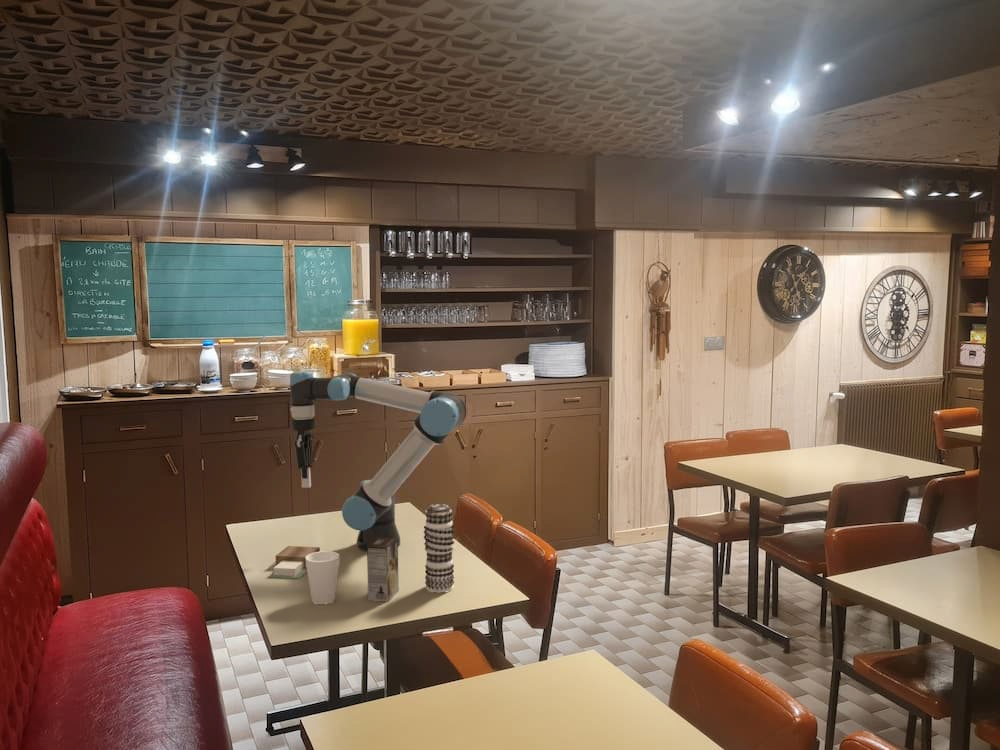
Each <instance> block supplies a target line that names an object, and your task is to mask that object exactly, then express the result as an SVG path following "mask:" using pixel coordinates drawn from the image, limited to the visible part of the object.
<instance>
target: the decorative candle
mask: <svg viewBox="0 0 1000 750" xmlns="http://www.w3.org/2000/svg"><path fill="white" fill-rule="evenodd" d="M424 512H425V513H426V515H425V517H426V520H425V525H424V526H423V529H424V531H423V533H424V536H423V539H424V541H425V542H424V544H423V545H424V551H425V553H426V559H425V562H426V564H425V565H424V566H425V571H424V572H425V577H424V579H425V582H424V583H425V585H426V586H425V590H426V589H427V590H428V591H427V590H426V591H427V592H429V591H431V592H430V593H433V592H437V593H436V594H441V593H440V592H445V593H447V592H446V591H449V592H450V590H451V589H453V590H454V588H455V586H454V583H455V581H454V579H455V576H454V572H455V570H454V566H455V565H454V563H453V562H454V561H453V552H454V547H453V545H454V544H455V541H454V539H455V536H454V535H453V533H454V532H455V531H456V530H455V528H454V527H455V526H456V524H454V523H453V513H452V512H453V510H452V508H450V506H449V505H447V504H445V503H434V504H431V505H428V507H427V509H426V510H424ZM453 587H454V588H453ZM451 591H452V590H451ZM438 592H439V593H438Z"/></svg>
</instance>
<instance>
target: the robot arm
mask: <svg viewBox="0 0 1000 750" xmlns="http://www.w3.org/2000/svg"><path fill="white" fill-rule="evenodd" d="M289 391H290V393H289V395H290V409H289V411H290V412H291V413H290V414H291V417H292V419H291V430H292V431H295V432H297V434H296V440H295V441H294V446H295V450H296V458H297V465H298V466H297V469H298V470H300V475H301V476H300V478H301V481H300V482H301V488H303V489H304V488H305V489H307V488H311V487H312V478H311V476H312V475H311V468H313V467H314V466H313V447H314V446H313V445H314V444H313V442H314V435H312V433H311V431H313V430H315V429H316V419H315V418H314V417H315V415H316V414H315V412H316V411H315V401H335V402H337V401H345V400H347V399H348V398H352V399H357V400H361V401H366V402H370V403H375V404H379V405H384V406H389V407H393V408H397V409H400V410H404V411H405V410H406V411H410V412H413V413H418V414H419V415H418V416H417V417H416V418H415V419H414V421H413V427H414V428H413V430H412V429H411V432H410V433H409V434H408V435H407V437H405V439H404V440H403V441H402V443H400V445H399V446H398V447H397V449H396V450H395V451H394V452H393V453H392V454H391V456H390V457H389V458H388V459H387V461H386V462H385V463H384V464H383V466H382V467H381V468H380V469H379V470H378V472H377V473H376V474H375V475H374V476H373V478H372V479H366V480H362V481H361V482H360V486H359V487H358V489H357V490H356V491H355V492H354V493H353V494H352V495H351V496H350V497H348V498H346V499H345V501H344V503H343V505H342V508H341V516H342V519H343V521H344V522H345V524H346V525H347V526H348V527H349V528H351V529H352V530H356V531H359V532H358V535H357V537H356V547H357V548H358V549H360V550H362V551H366V552H367V546H368V545H369V544H371V543H372V542H373V541H374V540H375V539H377V538H378V537H383V538H398V547H399V546H400V545H401V535H400V533H399V530H398V528H397V525H396V512H395V511H396V510H395V509H396V507H395V506H396V504H395V493H396V492H397V490H399V488H400V487H401V486H402V484H403V483H404V482H405V481H406V480H407V478H409V476H410V475H411V474H412V472H413V471H414V470H415V469H416V468H417V467H418V465H420V463H421V462H422V461H423V460H424V458H425V457H426V456H427V455H428V454H429V453H430V451H431V450H432V449H433V448H434V446H439V445H442V444H443V443H444V442H445V441H446V440H447V438H448V437H449V436H450V435H451V433H453V431H455V429H456V428H458V427H460V426H461V425H462V424H463V423H464V421H465V419H466V418H467V414H468V413H467V412H468V409H467V404H466V402H465V401H464V399H463V398H462V397H460V395H457V394H455V393H449V392H443V391H439V390H438V391H437V390H431V391H430V392H429V391H423V390H420V389H415V388H410V387H407V386H402V385H401V386H400V385H396V384H392V383H387V382H383V381H380V380H374V379H370V378H366V377H360V376H358V375H356V374H354V373H351V372H344V373H342V374H338V375H335V376H330V377H314V374H313V372H312V371H308V370H306V371H300V370H299V371H294V372H292V373H290V375H289Z"/></svg>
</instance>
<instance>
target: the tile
mask: <svg viewBox="0 0 1000 750" xmlns="http://www.w3.org/2000/svg"><path fill="white" fill-rule="evenodd" d="M303 568H304V561H282V562H280V563H279V564H278V565H277V566H276V565H275V566H274V567H273V572H274V575H288V576H296V575H297V574H298V573H299V572H300V571H301V570H302V569H303Z"/></svg>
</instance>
